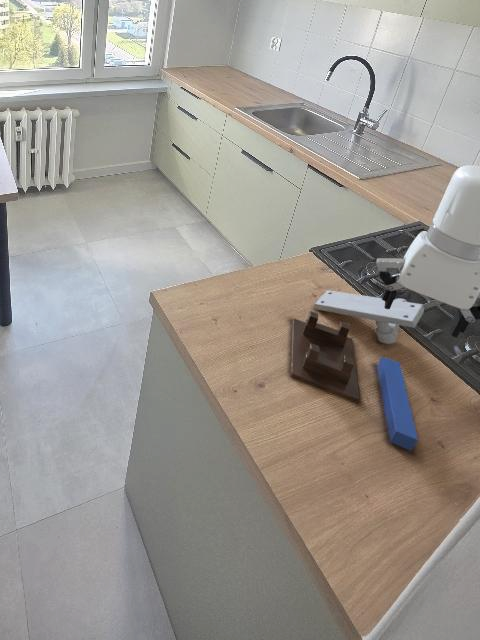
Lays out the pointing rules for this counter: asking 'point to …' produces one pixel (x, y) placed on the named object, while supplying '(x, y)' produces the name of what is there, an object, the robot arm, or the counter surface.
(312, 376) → the holder
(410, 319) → the door handle
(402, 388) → the blue bar
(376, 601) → the counter surface
